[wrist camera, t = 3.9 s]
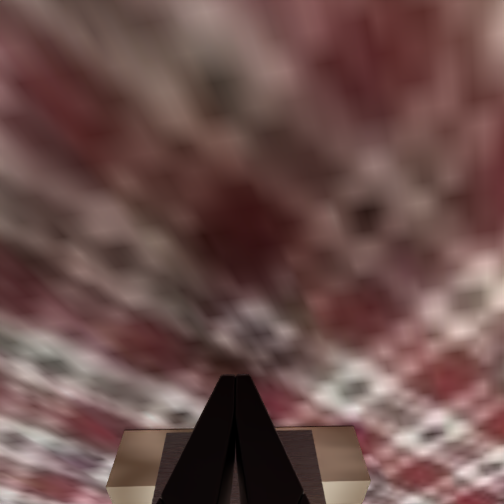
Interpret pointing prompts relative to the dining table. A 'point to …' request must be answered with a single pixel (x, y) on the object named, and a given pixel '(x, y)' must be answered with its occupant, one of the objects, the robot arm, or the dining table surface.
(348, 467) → the deck
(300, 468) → the carriage
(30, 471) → the dining table surface
